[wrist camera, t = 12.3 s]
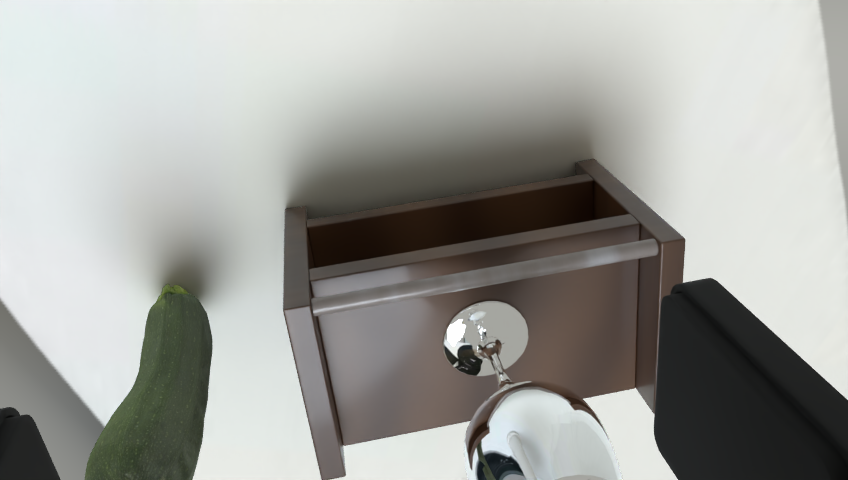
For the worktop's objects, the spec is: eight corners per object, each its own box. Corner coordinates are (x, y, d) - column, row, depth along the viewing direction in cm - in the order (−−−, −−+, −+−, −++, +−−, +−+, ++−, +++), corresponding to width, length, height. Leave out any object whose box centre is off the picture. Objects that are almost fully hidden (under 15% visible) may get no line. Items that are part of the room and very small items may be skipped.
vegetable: (235, 295, 43) (198, 580, 25) (200, 349, 44) (140, 658, 26) (165, 262, 41) (73, 541, 24) (130, 318, 43) (17, 626, 25)
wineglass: (505, 399, 38) (588, 595, 28) (409, 366, 36) (458, 564, 26) (562, 311, 36) (674, 486, 26) (464, 272, 34) (541, 443, 24)
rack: (314, 353, 46) (322, 481, 36) (284, 208, 41) (282, 310, 31) (594, 301, 48) (675, 410, 38) (594, 158, 43) (686, 238, 33)
